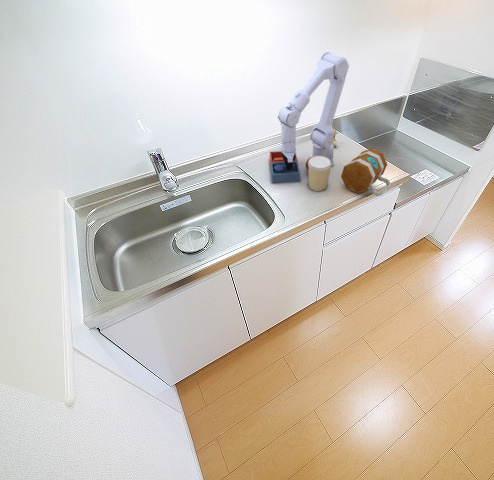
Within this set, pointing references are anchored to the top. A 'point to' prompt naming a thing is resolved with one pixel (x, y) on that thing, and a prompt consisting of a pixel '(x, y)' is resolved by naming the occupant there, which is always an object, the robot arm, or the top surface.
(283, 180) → the blue bin
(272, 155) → the red bin
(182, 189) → the top surface
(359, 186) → the mug
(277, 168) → the blue spoon
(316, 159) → the coffee cup
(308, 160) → the apple
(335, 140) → the robot
